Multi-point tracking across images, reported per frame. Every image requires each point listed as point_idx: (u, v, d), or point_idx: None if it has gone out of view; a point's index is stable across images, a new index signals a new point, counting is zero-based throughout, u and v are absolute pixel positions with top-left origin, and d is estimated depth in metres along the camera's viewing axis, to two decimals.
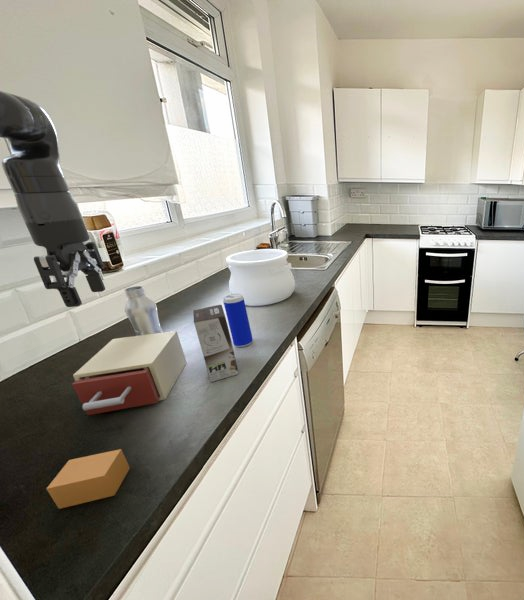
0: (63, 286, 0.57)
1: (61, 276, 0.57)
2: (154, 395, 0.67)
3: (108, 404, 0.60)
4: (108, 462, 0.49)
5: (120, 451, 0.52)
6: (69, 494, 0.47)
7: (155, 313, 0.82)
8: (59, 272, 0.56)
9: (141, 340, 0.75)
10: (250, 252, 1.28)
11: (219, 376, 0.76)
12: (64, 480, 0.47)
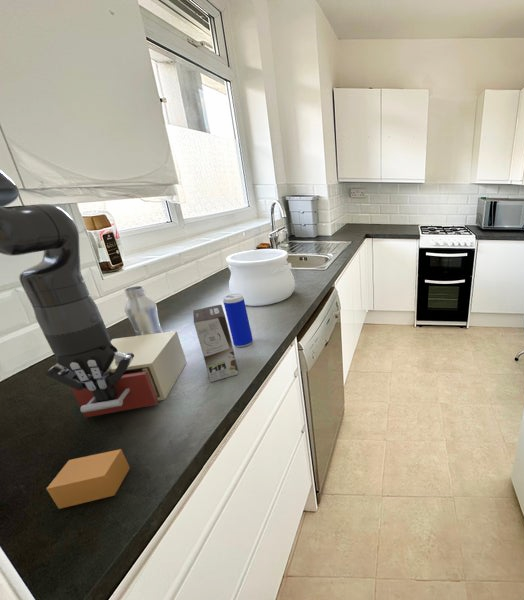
0: (79, 389, 0.58)
1: (71, 382, 0.57)
2: (153, 397, 0.66)
3: (106, 406, 0.59)
4: (108, 462, 0.49)
5: (120, 451, 0.52)
6: (69, 494, 0.47)
7: (155, 313, 0.82)
8: (65, 380, 0.57)
9: (141, 340, 0.75)
10: (250, 252, 1.28)
11: (219, 376, 0.76)
12: (64, 480, 0.47)
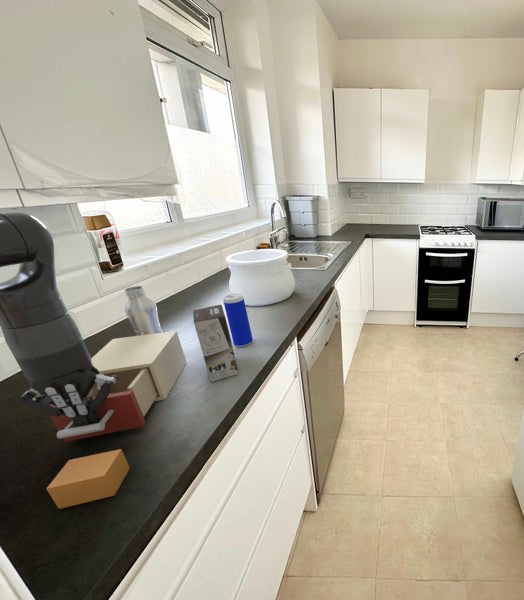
0: (57, 415, 0.52)
1: (47, 408, 0.52)
2: (140, 418, 0.60)
3: (86, 431, 0.54)
4: (108, 462, 0.49)
5: (120, 451, 0.52)
6: (69, 494, 0.47)
7: (155, 313, 0.82)
8: (41, 407, 0.51)
9: (141, 340, 0.75)
10: (250, 252, 1.28)
11: (219, 376, 0.76)
12: (64, 480, 0.47)
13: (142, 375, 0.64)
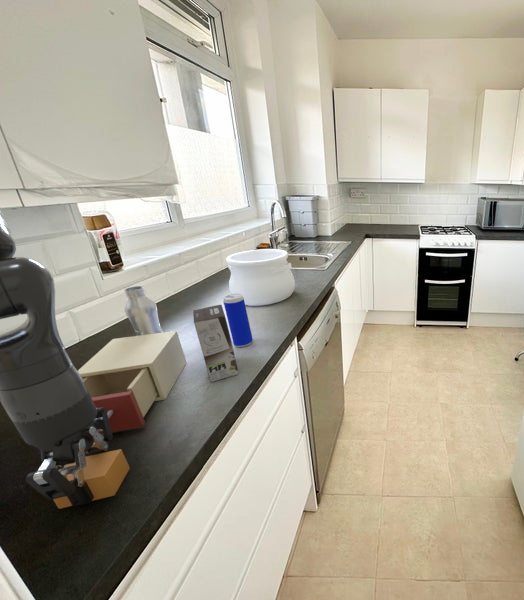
0: None
1: None
2: (140, 418, 0.60)
3: None
4: (108, 462, 0.49)
5: (120, 451, 0.52)
6: None
7: (155, 313, 0.82)
8: None
9: (141, 340, 0.75)
10: (250, 252, 1.28)
11: (219, 376, 0.76)
12: None
13: (142, 375, 0.64)
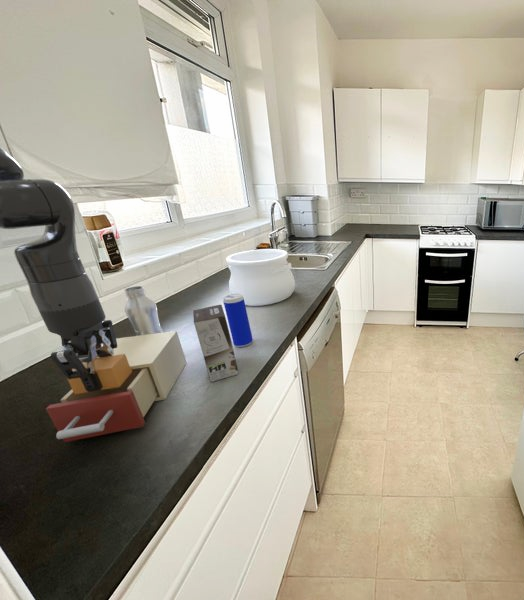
0: None
1: None
2: (140, 418, 0.60)
3: (86, 432, 0.53)
4: (114, 360, 0.60)
5: (124, 355, 0.63)
6: None
7: (155, 313, 0.82)
8: None
9: (141, 340, 0.75)
10: (250, 252, 1.28)
11: (219, 376, 0.76)
12: None
13: (142, 375, 0.64)
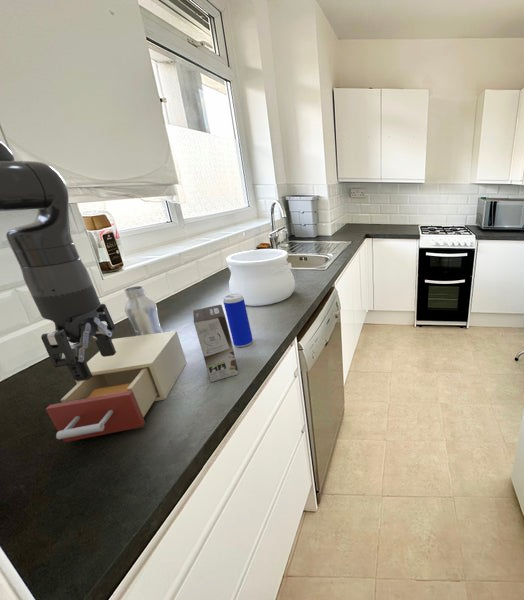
0: None
1: None
2: (139, 419, 0.60)
3: (85, 432, 0.53)
4: (126, 389, 0.63)
5: None
6: None
7: (155, 313, 0.82)
8: None
9: (141, 340, 0.75)
10: (250, 252, 1.28)
11: (219, 376, 0.76)
12: None
13: (142, 375, 0.64)
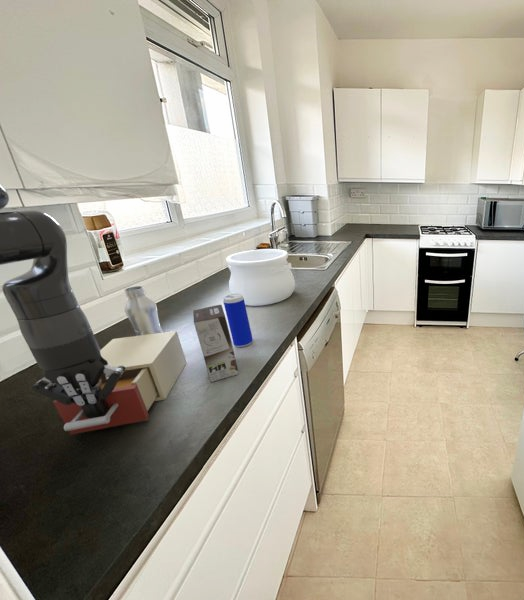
0: (67, 404, 0.55)
1: (58, 397, 0.54)
2: (144, 412, 0.62)
3: (92, 424, 0.55)
4: (130, 384, 0.65)
5: None
6: None
7: (155, 313, 0.82)
8: (53, 395, 0.54)
9: (141, 340, 0.75)
10: (250, 252, 1.28)
11: (219, 376, 0.76)
12: None
13: (146, 370, 0.66)
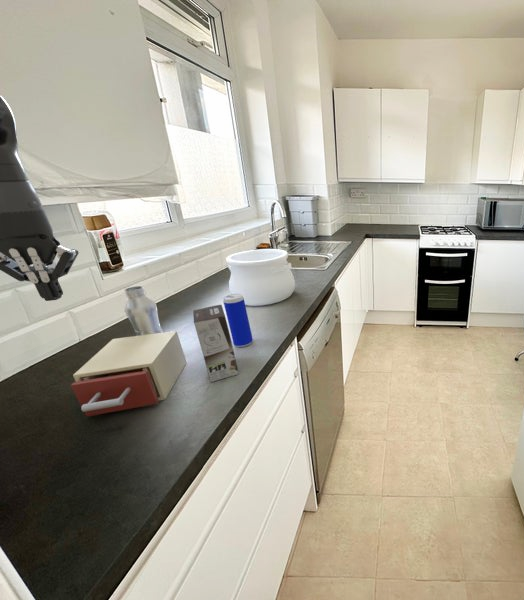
0: (21, 280, 0.58)
1: (11, 272, 0.57)
2: (154, 396, 0.66)
3: (107, 405, 0.60)
4: (141, 370, 0.69)
5: None
6: None
7: (155, 313, 0.82)
8: (6, 269, 0.57)
9: (141, 340, 0.75)
10: (250, 252, 1.28)
11: (219, 376, 0.76)
12: None
13: None
